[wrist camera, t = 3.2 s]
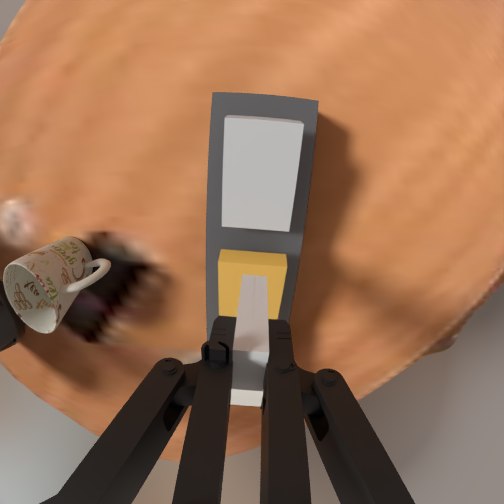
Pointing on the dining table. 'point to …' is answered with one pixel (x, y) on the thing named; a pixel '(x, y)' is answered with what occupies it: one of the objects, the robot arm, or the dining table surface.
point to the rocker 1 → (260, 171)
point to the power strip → (214, 231)
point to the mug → (50, 281)
